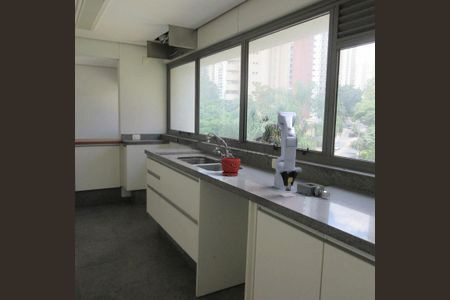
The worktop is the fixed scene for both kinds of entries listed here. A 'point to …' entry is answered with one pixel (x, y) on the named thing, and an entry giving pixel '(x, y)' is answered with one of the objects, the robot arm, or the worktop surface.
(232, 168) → the plant pot
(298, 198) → the worktop surface
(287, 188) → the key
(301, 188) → the chuck
